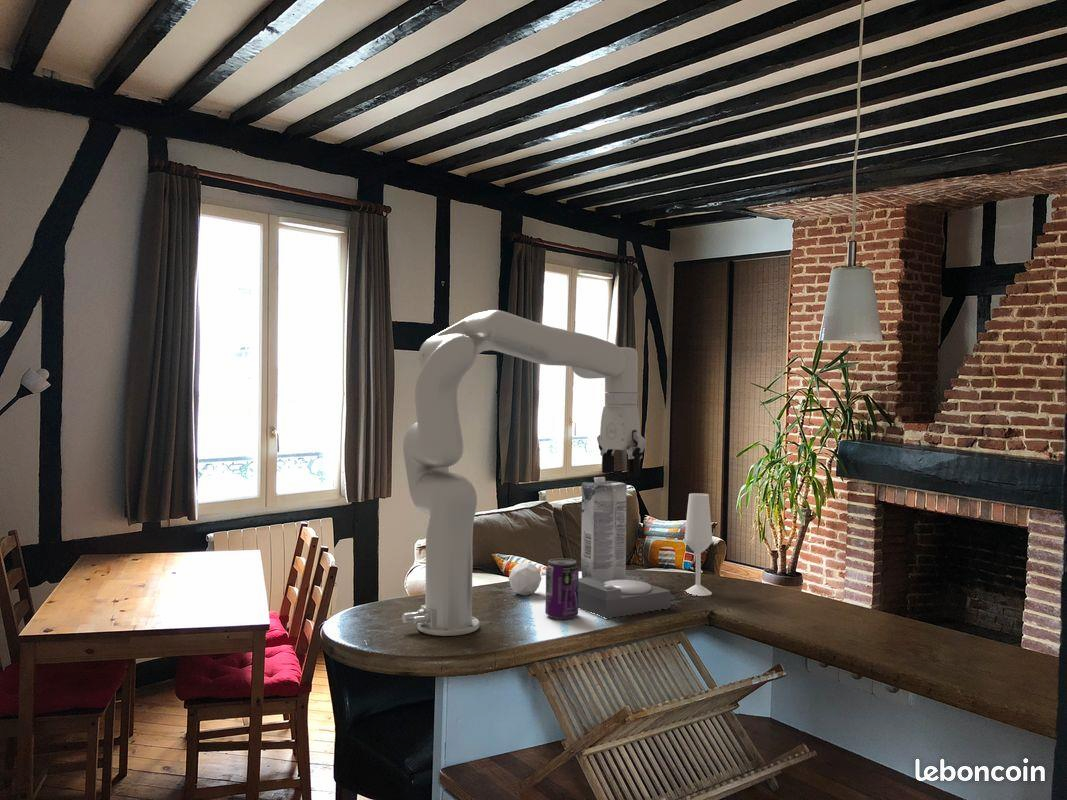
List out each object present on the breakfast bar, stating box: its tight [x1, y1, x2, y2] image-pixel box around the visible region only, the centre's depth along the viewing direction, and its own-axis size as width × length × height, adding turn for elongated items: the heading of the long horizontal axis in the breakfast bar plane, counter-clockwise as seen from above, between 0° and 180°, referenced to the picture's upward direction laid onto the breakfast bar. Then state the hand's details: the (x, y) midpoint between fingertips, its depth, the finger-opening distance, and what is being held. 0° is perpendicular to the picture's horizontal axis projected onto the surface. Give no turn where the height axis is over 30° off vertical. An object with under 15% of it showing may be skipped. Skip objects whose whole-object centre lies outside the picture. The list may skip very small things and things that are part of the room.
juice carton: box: [580, 476, 628, 583], centre depth 205 cm, size 9×10×27 cm
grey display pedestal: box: [578, 577, 672, 618], centre depth 181 cm, size 18×13×7 cm
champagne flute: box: [684, 492, 713, 597], centre depth 195 cm, size 7×7×24 cm
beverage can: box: [544, 557, 580, 620], centre depth 172 cm, size 7×7×12 cm
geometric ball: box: [508, 561, 542, 596], centre depth 192 cm, size 8×8×8 cm
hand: (620, 474), depth 185 cm, fingers open, 9 cm apart
